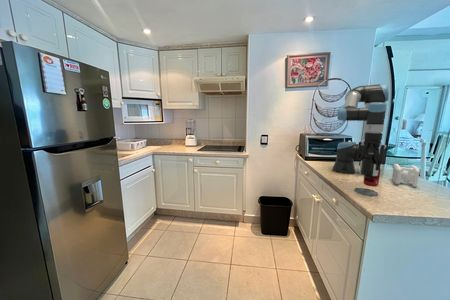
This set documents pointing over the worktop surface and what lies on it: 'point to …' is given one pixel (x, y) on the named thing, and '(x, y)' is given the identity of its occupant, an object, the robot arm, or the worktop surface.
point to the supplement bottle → (368, 164)
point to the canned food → (372, 179)
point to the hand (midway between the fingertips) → (368, 173)
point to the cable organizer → (405, 174)
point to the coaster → (366, 191)
